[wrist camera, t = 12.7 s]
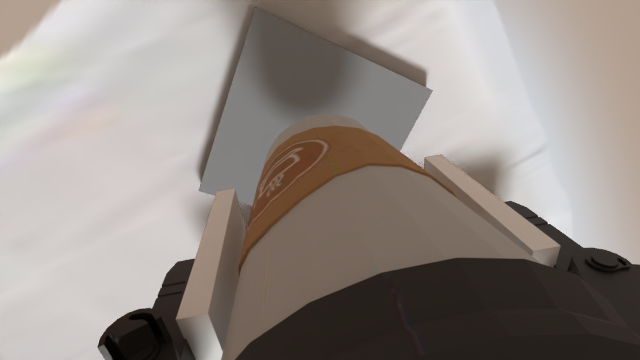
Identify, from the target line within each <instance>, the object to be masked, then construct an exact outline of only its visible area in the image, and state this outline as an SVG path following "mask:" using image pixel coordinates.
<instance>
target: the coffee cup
mask: <svg viewBox="0 0 640 360" xmlns="http://www.w3.org/2000/svg"><path fill="white" fill-rule="evenodd" d="M238 271H239V281H238V285H237V290H236V294H235V299H234V304H233V308H232V313H231V317H230V322H229V326H228V331H227V336H226V340H225V345H224V349H223V354H222V358H221V360H640V336H638V335H637V334H636V333H634V332H633V331H632V330H631V329H630V328H629V326H628V325H627V324H626V322H625V321H624V320H623V319H622V317H621V316H620V315H619V313H618V312H617V311H616V309H615V308H614V307H613V305H612V304H611V303H610V301H609V300H608V299H606V298H605V297H604V296H603V295H601V294H600V293H599V292H598V291H596V290H595V289H594V288H593V287H591V286H590V285H589V284H588V283H586V282H585V281H584V280H583V279H581V278H580V277H579V276H578V275H576V274H573V273H570V272H567V271H563V270H560V269H557V268H553V267H550V266H547V265H543V264H541V263H540V262H539V261H537V260H536V259H535V258H534V257H532V256H531V255H530V254H528V253H527V252H526V251H524V250H523V249H522V248H521V247H519V246H518V245H517V244H515V243H514V242H513V241H511V240H510V239H509V238H508V237H506V236H505V235H504V234H502V233H501V232H500V231H499V230H497V229H496V228H495V227H493V226H492V225H491V224H489V223H488V222H487V221H486V220H484V219H483V218H482V217H480V216H479V215H478V214H477V213H475V212H474V211H473V210H471V209H470V208H469V207H467V206H466V205H465V204H464V203H462V202H461V201H460V200H458V199H457V197H456V196H455V194H454V193H453V191H451V190H450V189H449V188H447V187H446V186H445V185H443V184H442V183H441V182H440V181H438V180H437V179H436V178H434V177H433V176H432V175H430V174H429V173H428V172H426V171H425V170H424V169H422V168H421V167H420V166H418V165H417V164H416V163H414V162H413V161H412V160H410V159H409V158H408V157H406V156H405V155H404V154H402V153H401V152H400V151H398V150H397V149H396V148H394V147H393V146H392V145H390V144H389V143H388V142H386V141H385V140H384V139H382V138H381V137H380V136H378V135H376V134H373V133H372V132H370V131H369V130H368V129H366V128H365V127H364V126H363V125H361V124H360V123H359V122H357V121H355V120H353V119H350V118H348V117H345V116H343V115H335V114H319V115H313V116H308V117H306V118H303V119H301V120H299V121H297V122H295V123H293V124H291V125H290V126H289V127H288V128H286V129H285V130H284V131H283V132H282V133H280V134H279V136H278V137H277V138H276V140H275V141H274V142H273V144H272V145H271V146H270V148H269V151H268V154H267V156H266V159H265V162H264V166H263V171H262V174H261V176H260V179H259V182H258V185H257V189H256V193H255V198H254V202H253V206H252V210H251V215H250V219H249V223H248V227H247V232H246V236H245V240H244V244H243V248H242V253H241V257H240V261H239V265H238Z"/></svg>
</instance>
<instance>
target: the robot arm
mask: <svg viewBox="0 0 640 360" xmlns="http://www.w3.org/2000/svg"><path fill="white" fill-rule="evenodd" d="M424 170H425V171H426V172H428V173H429V174H430V175H432V176H433V177H434V178H436V179H437V180H438V181H440V182H441V183H442V184H443V185H445V186H446V187H447V188H449V189H450V190H451V191H453V193H454V194H455V196H456V197H457V199H458V200H460V201H461V202H462V203H464V204H465V205H466V206H467V207H469V208H470V209H471V210H473V211H474V212H475V213H477V214H478V215H479V216H480V217H482V218H483V219H484V220H486V221H487V222H488V223H489V224H491V225H492V226H493V227H495V228H496V229H497V230H499V231H500V232H501V233H502V234H504V235H505V236H506V237H508V238H509V239H510V240H511V241H513V242H514V243H515V244H517V245H518V246H519V247H521V248H522V249H523V250H524V251H526V252H527V253H528V254H530V255H531V256H532V257H534V258H535V259H536V260H537V261H539V262H540V263H541V264H543V265H547V266H550V267H553V268H557V269H560V270H563V271H567V272H570V273H573V274H576V275H578V276H579V277H580V278H581V279H583V280H584V281H585V282H586V283H588V284H589V285H590V286H591V287H593V288H594V289H595V290H596V291H598V292H599V293H600V294H601V295H603V296H604V297H605V298H606V299H608V300H609V301H610V303H611V304H612V305H613V307H614V308H615V309H616V311H617V312H618V313H619V315H620V316H621V317H622V319H623V320H624V321H625V322H626V324H627V325H628V326H629V328H630V329H631V330H632V331H633V332H634V333H636V334H637V335H638V336H640V265H636V264H635V265H634V264H631V263H630V262H629V261H628V260H627V259H625V258H623V257H621V256H619V255H618V254H615V253H612V252H610V251H607V250H603V249H597V248H583V247H581V246H580V245H578V244H577V243H576V242H574V241H573V240H572V239H570V238H569V237H567V236H566V235H565V234H563V233H562V232H560V231H559V230H558V229H556V228H555V227H553V226H552V225H551V224H548V223H547V222H546V221H545V220H544V219H542V218H541V217H538V215H537V214H535V213H534V212H532V211H531V210H530V209H528V208H527V207H525V206H522V205H520V204H517V203H515V202H512V201H508V202H503V201H501V200H500V199H499V198H497V197H496V196H495V195H493V194H492V193H491V192H490V191H488V190H487V189H486V188H484V187H483V186H482V185H480V184H479V183H478V182H476V181H475V180H474V179H472V178H471V177H470V176H469V175H467V174H466V173H465V172H463V171H462V170H461V169H459V168H458V167H457V166H455V165H454V164H453V163H451V162H450V161H449V160H447V159H446V158H445V157H444V156H442V155H436V156H430V157H425V159H424ZM245 236H246V228H245V224H244V221H243V217H242V213H241V209H240V205H239V202H238V198H237V194H236V190H235V189H230V190H224V191H218V192H217V193H216V196H215V199H214V202H213V205H212V208H211V211H210V215H209V218H208V221H207V224H206V227H205V230H204V233H203V236H202V239H201V243H200V246H199V249H198V252H197V255H196V258H195V259H190V260H185V261H179V262H177V263H176V264H175V265H174V266H173V267H172V268H171V269H170V271H169V272H168V273H167V274H166V277H165V279H164V282H163V284H162V288H161V289H160V291H159V294H158V298H156V301H155V303H154V306H153V308H152V309H151V308H146V309H138V310H135V311H132V312H129V313H127V314H126V315H124V316H122V317H121V318H119V319H117V320H116V321H115V322H114V323H113V324H111V325H110V326H109V327H108V328H107V329H106V331H105V332H104V333H103V335H102V336H101V338H100V340H99V344H98V349H99V351H100V352H101V354H102V355H103V357H104V359H105V360H221V358H222V354H223V349H224V345H225V340H226V336H227V331H228V326H229V322H230V317H231V313H232V308H233V304H234V299H235V294H236V290H237V285H238V281H239V271H238V265H239V261H240V257H241V253H242V248H243V244H244V240H245Z"/></svg>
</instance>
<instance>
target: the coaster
mask: <svg viewBox="0 0 640 360" xmlns="http://www.w3.org/2000/svg"><path fill="white" fill-rule="evenodd" d="M432 91H433V90H431V89H429V88H426V87H424V86H422V85H420V84H418V83H416V82H414V81H412V80H409V79H407V78H405V77H403V76H401V75H399V74H397V73H395V72H392V71H390V70H388V69H386V68H384V67H382V66H380V65H378V64H375V63H373V62H371V61H369V60H367V59H365V58H363V57H361V56H358V55H356V54H354V53H352V52H350V51H348V50H346V49H344V48H342V47H339V46H337V45H335V44H333V43H331V42H329V41H327V40H325V39H322V38H320V37H318V36H316V35H314V34H312V33H310V32H308V31H305V30H303V29H301V28H299V27H297V26H295V25H293V24H291V23H288V22H286V21H284V20H282V19H280V18H278V17H276V16H274V15H271V14H269V13H267V12H265V11H263V10H261V9H259V8H257V7H255V10H254V13H253V17H252V20H251V23H250V26H249V30H248V33H247V36H246V39H245V42H244V46H243V49H242V52H241V55H240V59H239V62H238V65H237V68H236V71H235V75H234V78H233V81H232V84H231V88H230V91H229V94H228V97H227V101H226V104H225V107H224V110H223V113H222V117H221V120H220V123H219V126H218V130H217V133H216V136H215V139H214V142H213V146H212V149H211V152H210V155H209V159H208V162H207V165H206V168H205V171H204V175H203V178H202V181H201V184H200V188H199V191H201V192H205V193H208V194H212V195H215V196H216V193H217V192H218V191H224V190H230V189H235V190H236V194H237V198H238V202H239V203H243V204H246V205H250V206H253V202H254V198H255V193H256V189H257V185H258V182H259V179H260V176H261V174H262V171H263V166H264V162H265V159H266V156H267V154H268V151H269V148H270V146H271V145H272V144H273V142H274V141H275V140H276V138H277V137H278V136H279V134H280V133H282V132H283V131H284V130H285V129H286V128H288V127H289V126H290V125H291V124H293V123H295V122H297V121H299V120H301V119H303V118H306V117H308V116H313V115H319V114H335V115H343V116H345V117H348V118H350V119H353V120H355V121H357V122H359V123H360V124H361V125H363V126H364V127H365V128H366V129H368V130H369V131H370V132H372V133H373V134H376V135H378V136H380V137H381V138H382V139H384V140H385V141H386V142H388V143H389V144H390V145H392V146H393V147H394V148H396V149H397V150H398V151H400V150H401V148H402V146H403V144H404V143H405V141H406V139H407V137H408V135H409V133H410V132H411V130H412V128H413V126H414V124H415V122H416V120H417V119H418V117H419V115H420V113H421V111H422V109H423V108H424V106H425V104H426V102H427V100H428V98H429V97H430V95H431V93H432Z"/></svg>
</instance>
